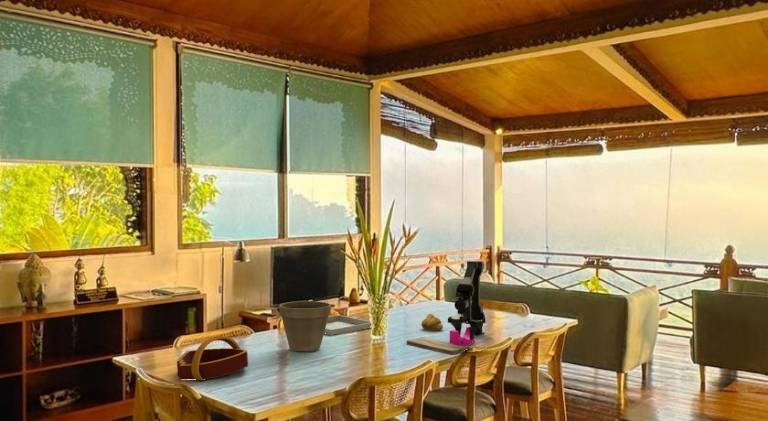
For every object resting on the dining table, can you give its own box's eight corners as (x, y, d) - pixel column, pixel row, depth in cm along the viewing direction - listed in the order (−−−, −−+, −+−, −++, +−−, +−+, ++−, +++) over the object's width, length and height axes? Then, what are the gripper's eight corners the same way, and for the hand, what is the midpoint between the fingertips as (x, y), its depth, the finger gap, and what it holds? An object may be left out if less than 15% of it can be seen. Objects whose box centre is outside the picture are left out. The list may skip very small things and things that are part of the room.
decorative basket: (215, 364, 289) (210, 331, 289) (269, 360, 278) (264, 326, 278) (163, 386, 258) (158, 349, 258) (222, 383, 247) (217, 344, 247)
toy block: (459, 347, 312) (459, 332, 312) (449, 345, 317) (449, 330, 317) (478, 343, 323) (478, 328, 322) (468, 341, 327) (468, 326, 327)
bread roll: (446, 330, 353) (446, 315, 353) (434, 332, 347) (434, 318, 346) (430, 326, 363) (430, 312, 363) (418, 328, 357) (418, 314, 356)
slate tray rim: (339, 319, 382) (339, 314, 382) (374, 327, 360) (374, 322, 359) (296, 326, 361) (296, 321, 361) (331, 335, 338) (331, 330, 338)
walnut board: (422, 340, 328) (423, 337, 328) (468, 350, 306) (468, 347, 306) (406, 343, 320) (406, 340, 320) (452, 354, 298) (452, 351, 298)
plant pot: (310, 340, 326) (310, 298, 326) (341, 348, 309) (341, 304, 308) (269, 348, 309) (269, 304, 309) (299, 357, 291) (299, 310, 291)
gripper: (440, 307, 321) (440, 338, 321) (469, 312, 307) (469, 344, 308) (454, 304, 328) (454, 334, 329) (483, 309, 315) (483, 340, 315)
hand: (465, 338), depth 320 cm, fingers open, 8 cm apart
